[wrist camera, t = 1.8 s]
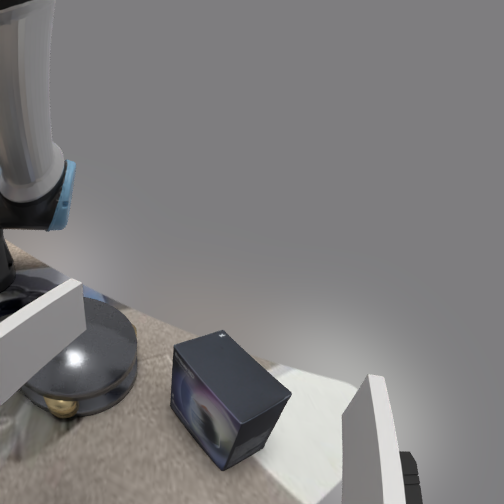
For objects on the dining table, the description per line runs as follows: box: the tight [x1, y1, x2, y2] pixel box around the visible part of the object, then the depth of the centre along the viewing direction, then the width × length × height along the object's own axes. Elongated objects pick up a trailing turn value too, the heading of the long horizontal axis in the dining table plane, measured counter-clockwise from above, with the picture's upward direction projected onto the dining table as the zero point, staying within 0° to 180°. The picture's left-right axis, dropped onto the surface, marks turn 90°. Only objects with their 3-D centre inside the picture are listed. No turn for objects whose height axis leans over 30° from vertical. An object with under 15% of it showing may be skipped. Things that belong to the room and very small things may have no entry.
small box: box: [170, 330, 292, 471], centre depth 26 cm, size 11×6×10 cm, turn 41°
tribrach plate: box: [20, 297, 137, 418], centre depth 30 cm, size 19×18×5 cm
